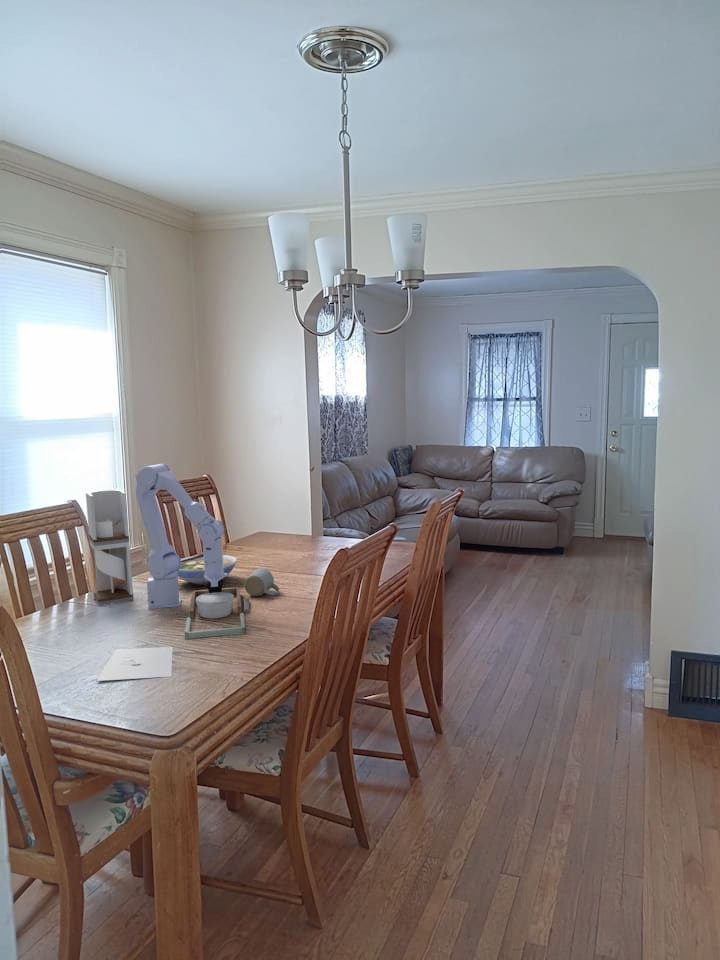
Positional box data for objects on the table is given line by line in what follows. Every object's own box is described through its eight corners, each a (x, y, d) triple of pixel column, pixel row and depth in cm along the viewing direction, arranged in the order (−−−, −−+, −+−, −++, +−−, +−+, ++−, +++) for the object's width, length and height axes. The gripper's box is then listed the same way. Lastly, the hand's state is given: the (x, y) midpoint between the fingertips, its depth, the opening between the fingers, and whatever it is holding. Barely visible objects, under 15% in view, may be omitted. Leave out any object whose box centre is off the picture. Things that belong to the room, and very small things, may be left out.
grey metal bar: (244, 614, 215) (244, 609, 215) (244, 602, 227) (244, 598, 227) (249, 613, 216) (248, 609, 215) (248, 602, 227) (248, 598, 227)
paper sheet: (118, 649, 189) (118, 645, 188) (230, 647, 190) (230, 643, 190) (89, 684, 165) (89, 679, 165) (217, 682, 166) (216, 678, 166)
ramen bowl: (198, 595, 235) (197, 571, 234) (155, 586, 249) (153, 563, 248) (254, 578, 255) (252, 556, 254) (210, 570, 269) (209, 549, 268)
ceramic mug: (243, 596, 233) (242, 573, 232) (252, 589, 240) (252, 567, 239) (274, 598, 230) (273, 575, 229) (283, 591, 238) (282, 568, 237)
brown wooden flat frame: (189, 619, 210) (189, 611, 210) (192, 598, 233) (192, 590, 232) (241, 615, 213) (241, 606, 213) (239, 594, 235) (239, 587, 235)
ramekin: (230, 606, 222) (229, 589, 221) (238, 616, 212) (237, 599, 211) (193, 611, 218) (192, 594, 217) (199, 622, 208) (198, 604, 207)
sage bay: (184, 638, 194) (184, 633, 194) (187, 622, 207) (187, 617, 207) (245, 633, 197) (244, 627, 197) (243, 617, 210) (243, 612, 210)
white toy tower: (93, 597, 238) (85, 492, 234) (127, 592, 243) (119, 489, 238) (98, 605, 228) (90, 495, 224) (133, 600, 233) (125, 492, 228)
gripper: (227, 565, 214) (229, 609, 216) (226, 554, 228) (228, 596, 230) (202, 566, 213) (205, 611, 214) (203, 556, 227) (206, 598, 229)
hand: (216, 603), depth 222 cm, fingers closed
